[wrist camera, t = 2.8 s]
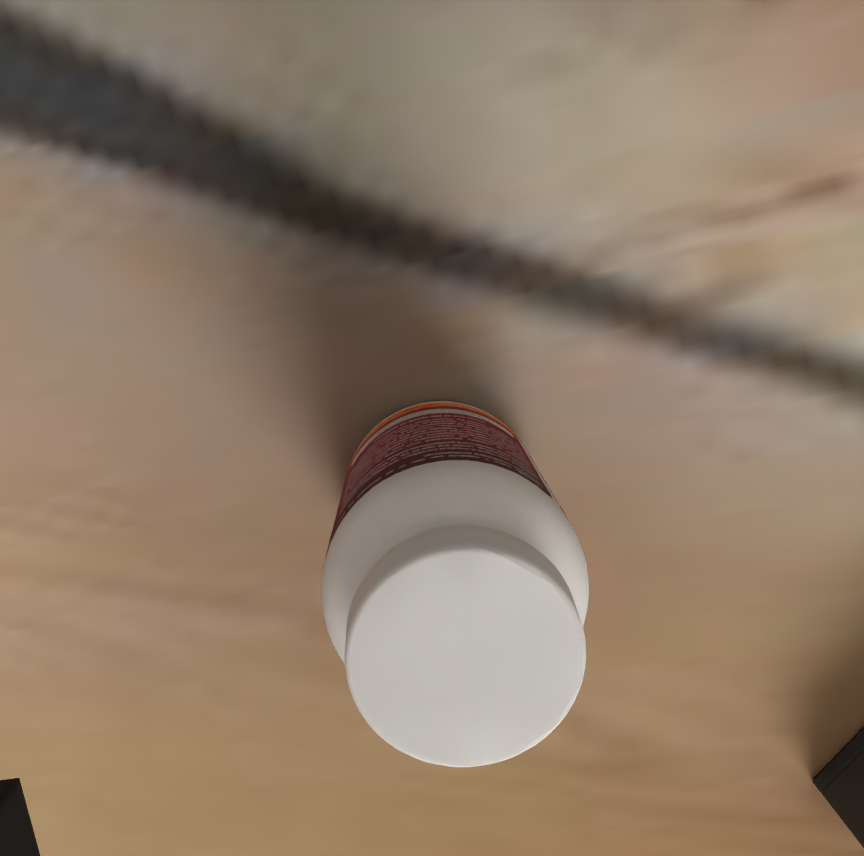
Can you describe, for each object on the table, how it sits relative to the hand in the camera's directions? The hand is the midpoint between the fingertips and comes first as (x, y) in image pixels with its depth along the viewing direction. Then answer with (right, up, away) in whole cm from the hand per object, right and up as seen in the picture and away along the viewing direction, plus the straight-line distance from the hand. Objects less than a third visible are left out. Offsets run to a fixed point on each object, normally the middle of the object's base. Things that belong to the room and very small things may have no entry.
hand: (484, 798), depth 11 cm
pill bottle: (0, +3, +14) cm, 15 cm away
